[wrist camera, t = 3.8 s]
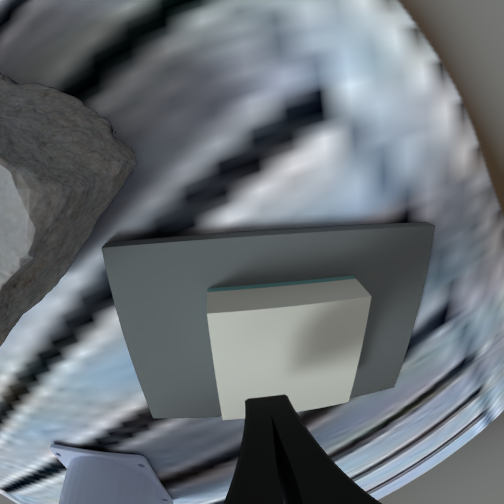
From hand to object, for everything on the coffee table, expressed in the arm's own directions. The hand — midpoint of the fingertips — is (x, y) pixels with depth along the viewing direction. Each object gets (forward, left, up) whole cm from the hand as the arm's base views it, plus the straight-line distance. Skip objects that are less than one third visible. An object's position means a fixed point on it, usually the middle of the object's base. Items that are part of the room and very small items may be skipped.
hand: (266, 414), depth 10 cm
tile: (0, +2, -3) cm, 4 cm away
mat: (0, -1, -5) cm, 5 cm away
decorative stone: (+9, +11, -5) cm, 15 cm away
